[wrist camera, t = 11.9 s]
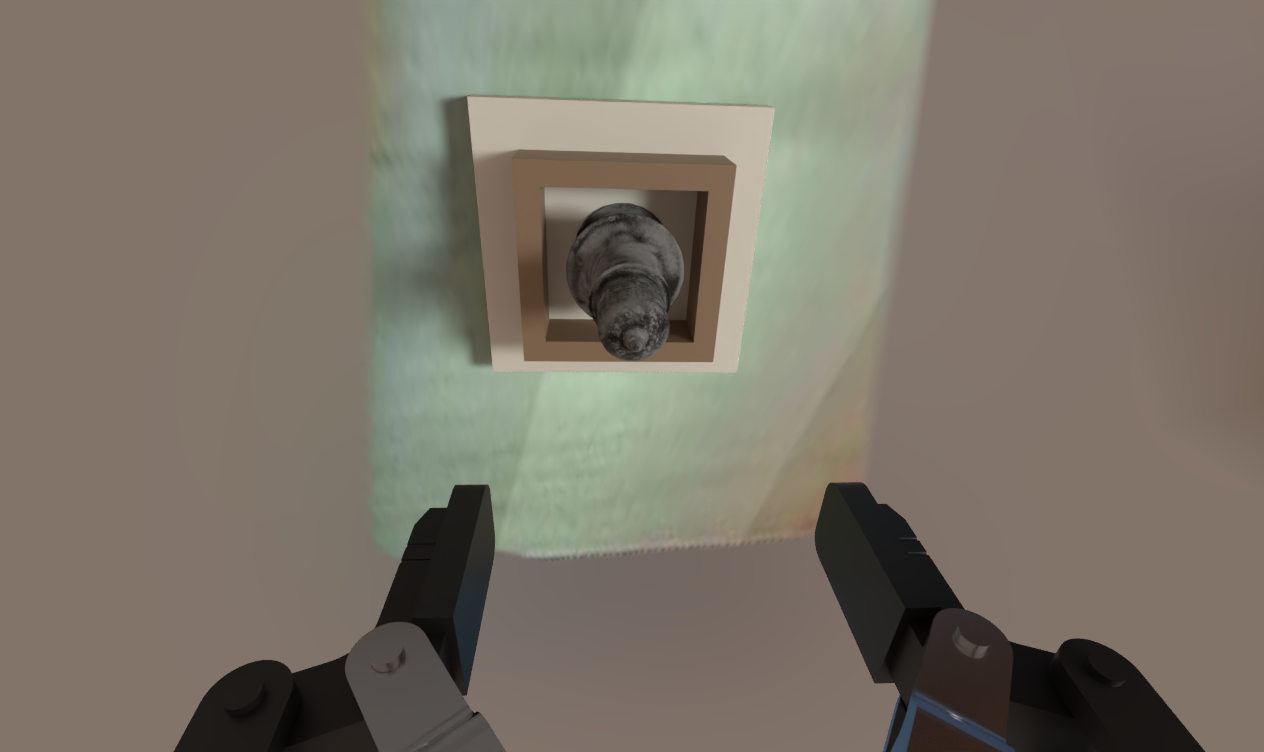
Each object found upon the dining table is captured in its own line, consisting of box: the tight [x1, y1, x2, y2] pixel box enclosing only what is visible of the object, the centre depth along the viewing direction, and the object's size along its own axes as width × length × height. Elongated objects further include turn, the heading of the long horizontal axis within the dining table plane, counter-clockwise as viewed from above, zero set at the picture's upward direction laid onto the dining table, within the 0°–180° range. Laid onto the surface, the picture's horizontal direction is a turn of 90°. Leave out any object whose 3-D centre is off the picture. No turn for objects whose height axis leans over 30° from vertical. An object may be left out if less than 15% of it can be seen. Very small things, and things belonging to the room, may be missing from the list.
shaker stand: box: [467, 95, 775, 372], centre depth 31 cm, size 15×15×4 cm
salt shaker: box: [566, 203, 684, 361], centre depth 26 cm, size 6×6×12 cm
